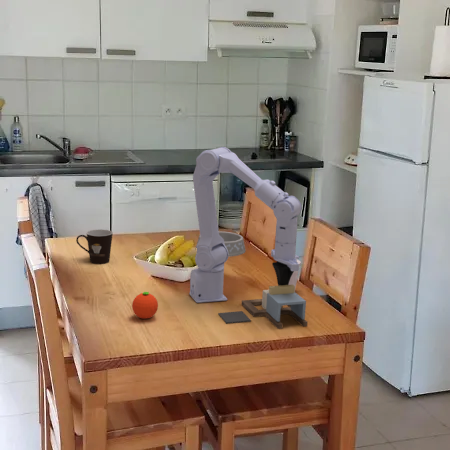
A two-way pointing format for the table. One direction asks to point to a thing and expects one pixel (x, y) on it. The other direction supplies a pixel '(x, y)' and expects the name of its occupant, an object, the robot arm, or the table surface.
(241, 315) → the mat
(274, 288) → the cover
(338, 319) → the table surface
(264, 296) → the block
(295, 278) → the smoothie
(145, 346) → the table surface
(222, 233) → the dog bowl
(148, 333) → the table surface
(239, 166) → the robot arm
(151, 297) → the clementine
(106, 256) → the coffee mug
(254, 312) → the puzzle board
